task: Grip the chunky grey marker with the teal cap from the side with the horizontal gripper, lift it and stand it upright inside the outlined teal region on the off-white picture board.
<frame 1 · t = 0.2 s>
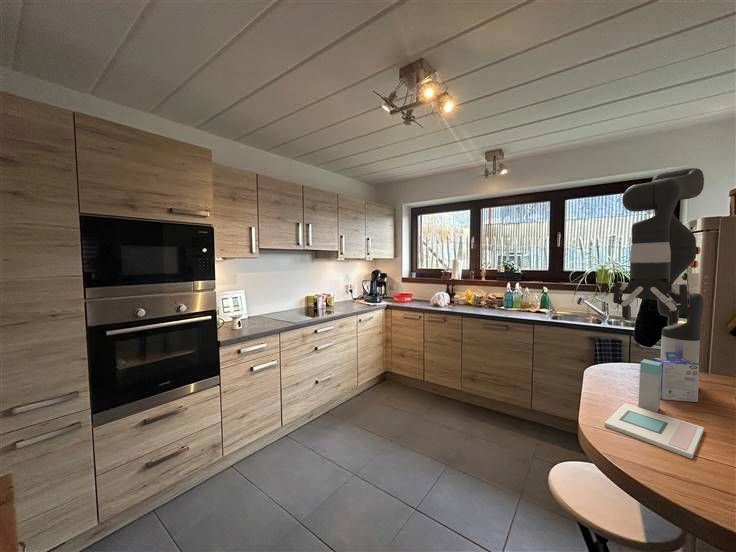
hand: (648, 322, 77), 29 cm above the table, tool pointing down, fingers open, 8 cm apart
ink cartridge box: (673, 397, 95), on the table
teal marker: (648, 407, 89), on the table
picture board: (653, 428, 78), on the table
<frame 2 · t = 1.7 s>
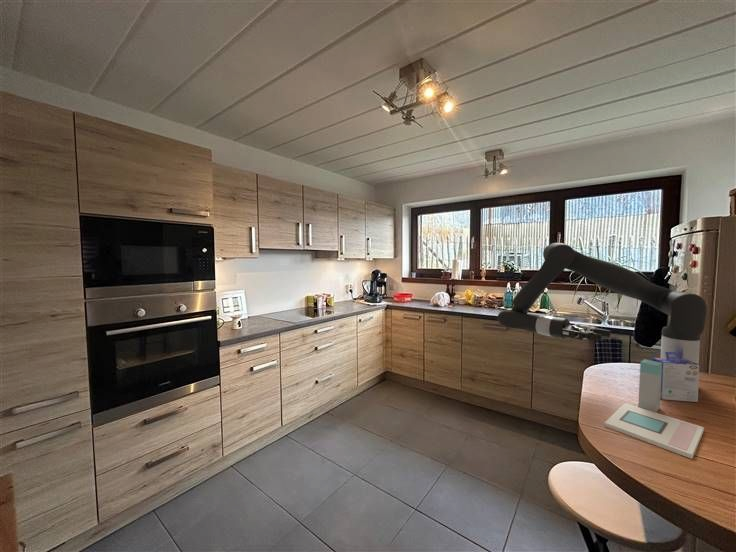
hand: (606, 335, 96), 20 cm above the table, tool horizontal, fingers open, 8 cm apart
nothing on the table moved.
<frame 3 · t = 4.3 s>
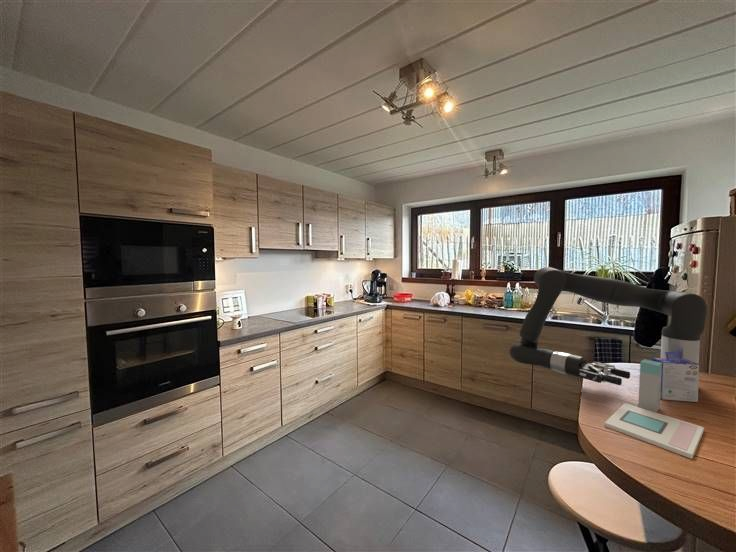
hand: (625, 378, 93), 7 cm above the table, tool horizontal, fingers open, 8 cm apart
nothing on the table moved.
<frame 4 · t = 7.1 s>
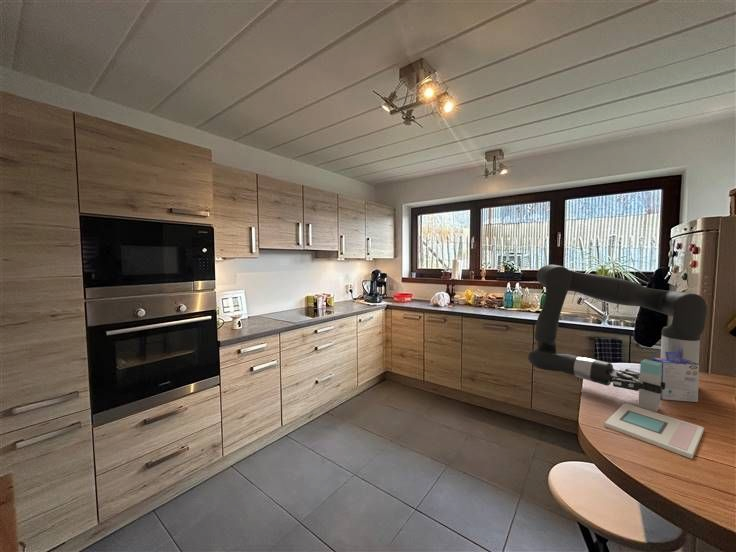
hand: (662, 388, 86), 7 cm above the table, tool horizontal, fingers closed on teal marker, 4 cm apart
teal marker: (648, 407, 89), on the table, touching gripper
everything else where it was.
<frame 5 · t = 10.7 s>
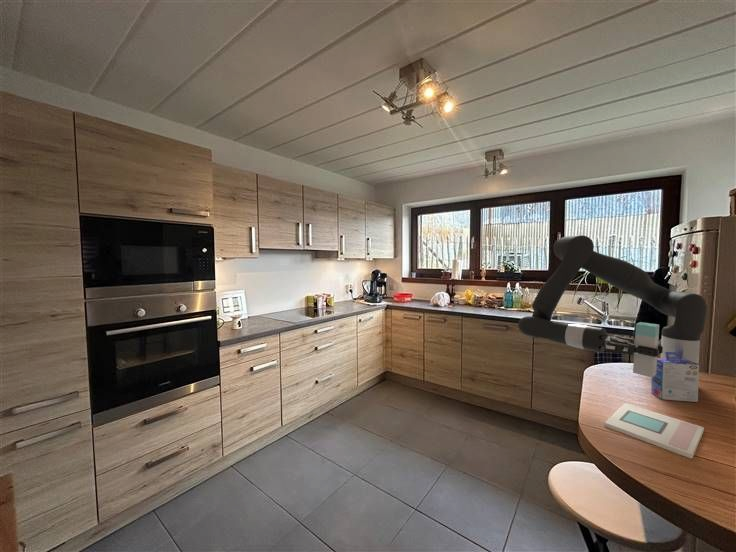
hand: (659, 351, 79), 20 cm above the table, tool horizontal, fingers closed on teal marker, 4 cm apart
teal marker: (644, 373, 82), point 13 cm above the table, touching gripper
everything else where it was.
when the fingers open (10 cm above the table, at t = 14.4 s): teal marker drops 1 cm, resting on picture board.
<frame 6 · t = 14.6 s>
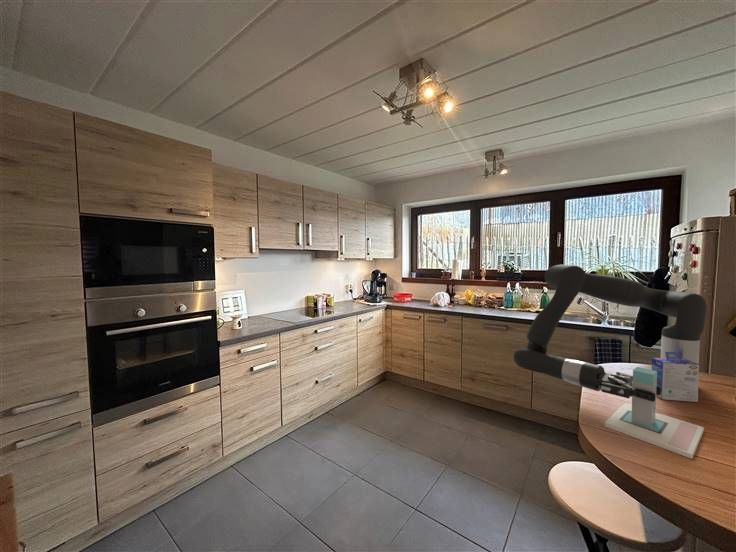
hand: (657, 394, 77), 10 cm above the table, tool horizontal, fingers open, 5 cm apart
teal marker: (643, 421, 79), point 1 cm above the table, touching picture board
everything else where it was.
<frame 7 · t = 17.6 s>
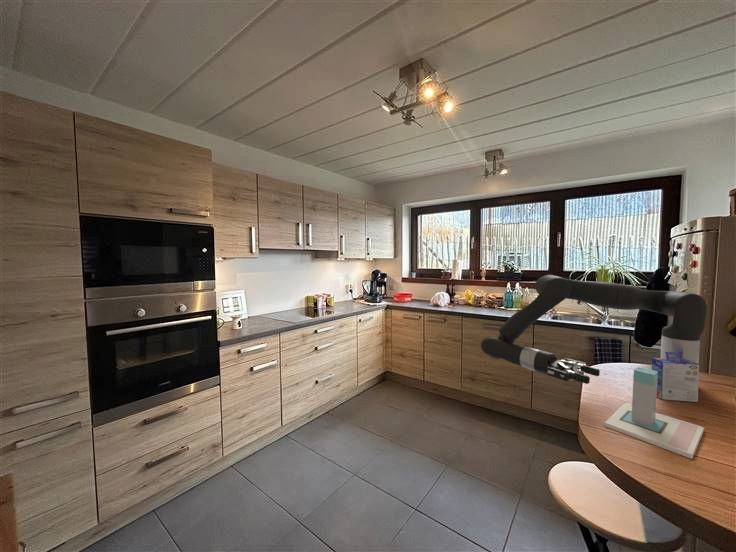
hand: (594, 376, 88), 10 cm above the table, tool horizontal, fingers open, 8 cm apart
nothing on the table moved.
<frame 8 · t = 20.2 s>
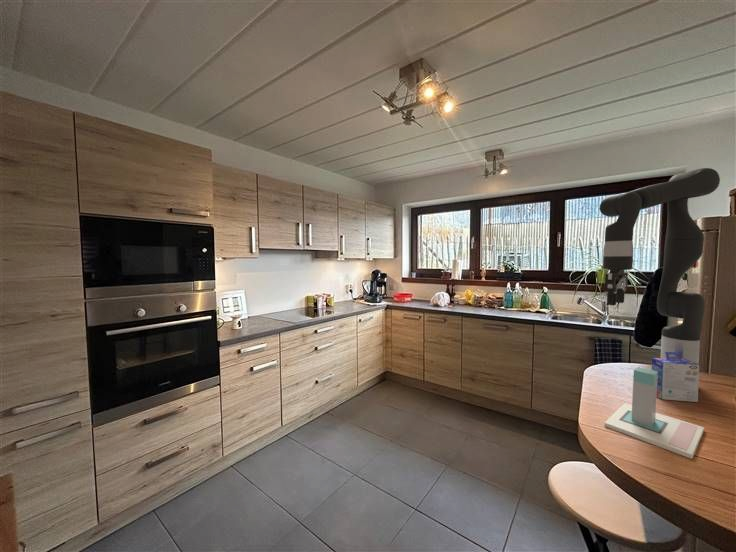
hand: (615, 303, 97), 30 cm above the table, tool pointing down, fingers open, 8 cm apart
nothing on the table moved.
at the end: teal marker 0.0 cm from the target spot, point 1.1 cm above the table; teal marker tilted 0°; the gripper is holding nothing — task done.
